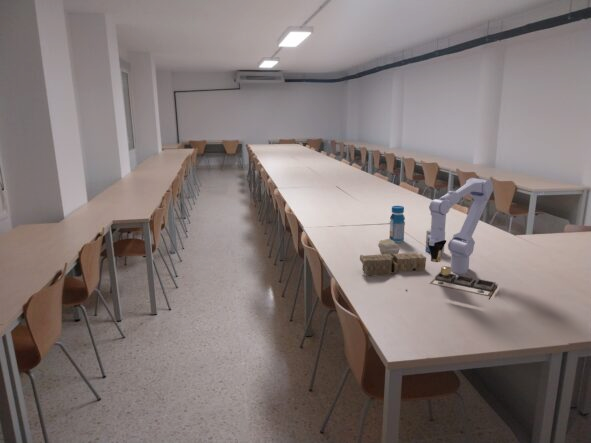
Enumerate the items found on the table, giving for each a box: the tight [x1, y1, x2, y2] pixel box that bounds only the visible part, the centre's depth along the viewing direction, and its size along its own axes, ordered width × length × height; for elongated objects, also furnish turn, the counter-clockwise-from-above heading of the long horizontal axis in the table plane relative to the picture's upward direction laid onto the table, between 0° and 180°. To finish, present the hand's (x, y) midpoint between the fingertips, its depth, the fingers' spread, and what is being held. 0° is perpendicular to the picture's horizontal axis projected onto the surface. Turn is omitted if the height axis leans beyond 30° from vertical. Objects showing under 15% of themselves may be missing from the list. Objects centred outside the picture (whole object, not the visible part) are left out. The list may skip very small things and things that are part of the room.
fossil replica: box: [377, 238, 400, 257], centre depth 220 cm, size 12×8×10 cm
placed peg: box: [440, 265, 452, 279], centre depth 184 cm, size 4×4×5 cm
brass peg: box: [430, 249, 442, 263], centre depth 184 cm, size 4×4×5 cm
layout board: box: [429, 271, 498, 300], centre depth 178 cm, size 14×24×3 cm, turn 54°
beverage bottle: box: [388, 205, 406, 243], centre depth 242 cm, size 8×8×20 cm
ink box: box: [424, 228, 445, 255], centre depth 222 cm, size 9×5×12 cm, turn 47°
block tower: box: [359, 252, 427, 277], centre depth 197 cm, size 8×8×29 cm
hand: (435, 257), depth 184 cm, fingers closed on brass peg, 4 cm apart
